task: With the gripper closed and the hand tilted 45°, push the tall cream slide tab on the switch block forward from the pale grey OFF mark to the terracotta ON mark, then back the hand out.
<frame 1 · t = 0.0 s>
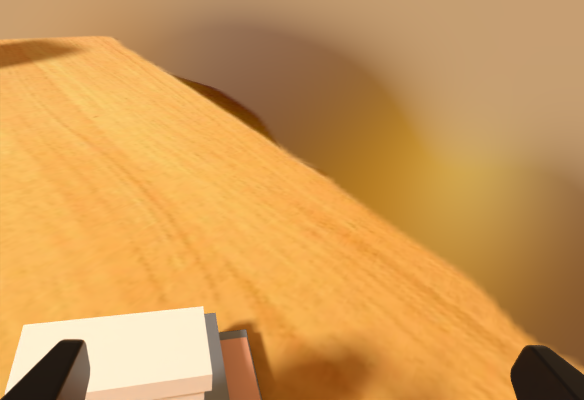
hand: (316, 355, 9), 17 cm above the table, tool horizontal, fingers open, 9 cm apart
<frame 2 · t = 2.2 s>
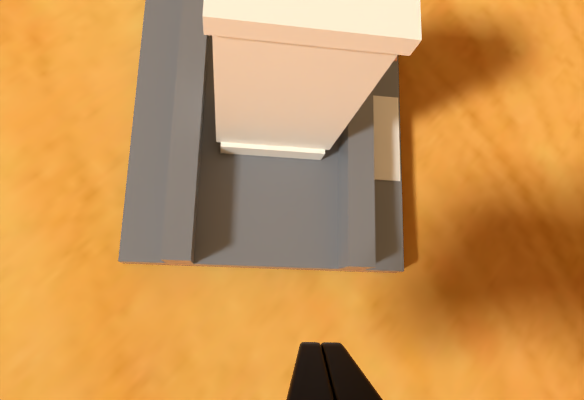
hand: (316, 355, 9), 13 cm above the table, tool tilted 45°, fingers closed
slide tab: (287, 77, 17), point 7 cm above the table, slide at 0.0 cm
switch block: (270, 112, 24), on the table
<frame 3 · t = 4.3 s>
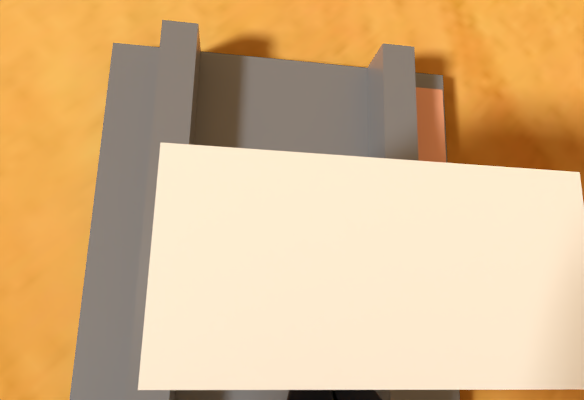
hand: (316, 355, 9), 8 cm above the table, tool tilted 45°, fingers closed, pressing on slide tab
slide tab: (307, 284, 11), point 7 cm above the table, slide at 0.6 cm, touching gripper
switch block: (276, 267, 17), on the table
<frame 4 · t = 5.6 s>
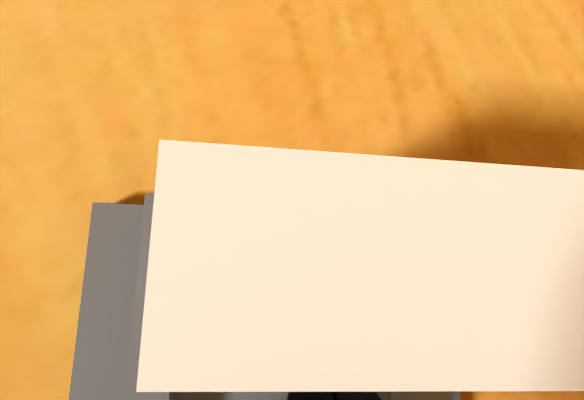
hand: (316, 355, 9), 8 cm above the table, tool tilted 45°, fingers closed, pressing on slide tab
slide tab: (308, 283, 11), point 7 cm above the table, slide at 6.7 cm, touching gripper
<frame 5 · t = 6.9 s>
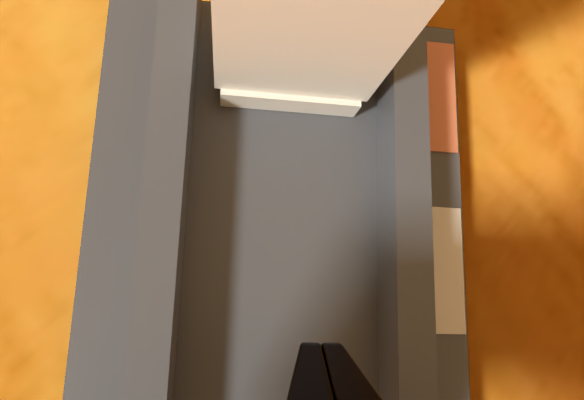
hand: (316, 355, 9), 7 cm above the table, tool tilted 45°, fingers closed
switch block: (280, 226, 17), on the table
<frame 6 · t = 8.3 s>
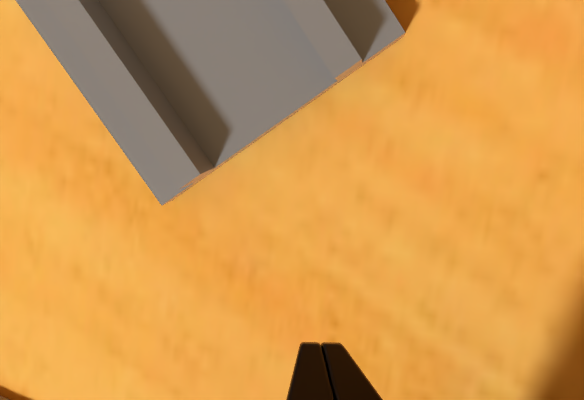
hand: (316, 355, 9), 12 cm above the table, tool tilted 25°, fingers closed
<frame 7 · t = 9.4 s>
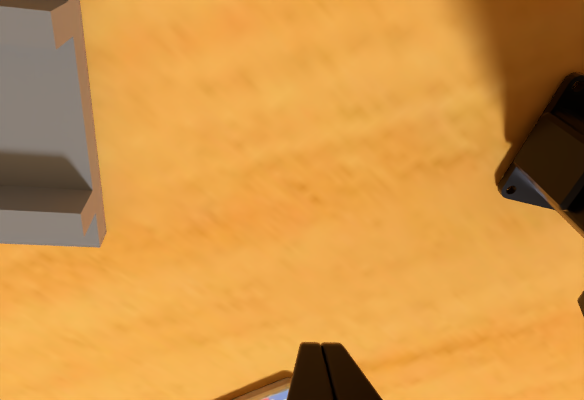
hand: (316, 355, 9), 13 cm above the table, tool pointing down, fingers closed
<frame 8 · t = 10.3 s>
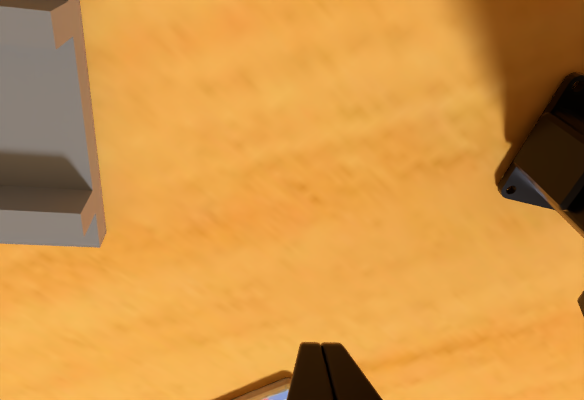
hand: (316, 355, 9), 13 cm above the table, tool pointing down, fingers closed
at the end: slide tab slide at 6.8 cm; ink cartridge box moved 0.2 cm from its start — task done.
